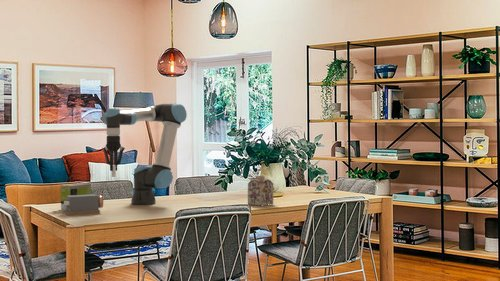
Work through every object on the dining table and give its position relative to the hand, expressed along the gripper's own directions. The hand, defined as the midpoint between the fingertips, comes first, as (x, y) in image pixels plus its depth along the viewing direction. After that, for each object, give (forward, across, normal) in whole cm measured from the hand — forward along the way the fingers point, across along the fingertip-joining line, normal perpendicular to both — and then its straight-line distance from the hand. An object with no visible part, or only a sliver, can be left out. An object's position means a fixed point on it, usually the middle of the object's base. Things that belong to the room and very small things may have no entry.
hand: (113, 176), depth 386 cm
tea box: (+20, +16, -20) cm, 33 cm away
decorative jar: (+21, -89, +15) cm, 92 cm away
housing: (+20, +18, 0) cm, 27 cm away
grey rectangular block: (+17, +18, 0) cm, 25 cm away
